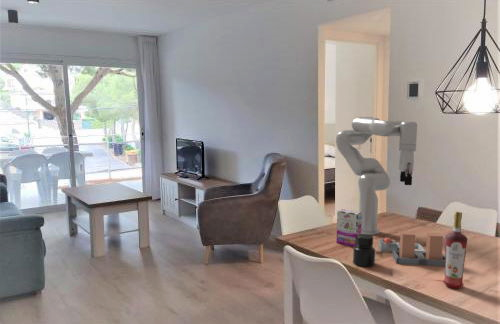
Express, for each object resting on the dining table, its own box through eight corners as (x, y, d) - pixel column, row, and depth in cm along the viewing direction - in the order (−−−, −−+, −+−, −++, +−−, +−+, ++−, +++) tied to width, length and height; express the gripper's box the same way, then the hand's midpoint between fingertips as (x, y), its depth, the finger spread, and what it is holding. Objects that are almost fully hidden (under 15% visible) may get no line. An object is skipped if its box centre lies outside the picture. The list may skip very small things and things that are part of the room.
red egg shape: (384, 248, 196) (385, 239, 195) (383, 246, 199) (384, 237, 198) (391, 249, 195) (391, 239, 195) (390, 247, 198) (390, 237, 198)
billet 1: (401, 261, 181) (402, 234, 179) (399, 257, 186) (400, 231, 184) (413, 262, 180) (415, 234, 178) (411, 258, 185) (412, 231, 183)
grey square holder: (380, 252, 194) (381, 243, 194) (378, 248, 201) (378, 238, 201) (396, 253, 193) (397, 244, 193) (393, 248, 200) (394, 239, 200)
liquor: (442, 288, 155) (447, 213, 152) (441, 281, 162) (446, 209, 159) (465, 291, 153) (470, 215, 149) (462, 284, 160) (468, 211, 156)
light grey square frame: (399, 255, 191) (400, 249, 191) (395, 247, 202) (395, 242, 202) (425, 256, 190) (425, 251, 189) (419, 248, 200) (419, 243, 200)
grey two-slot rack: (396, 265, 178) (397, 258, 178) (392, 257, 188) (392, 250, 188) (449, 268, 175) (449, 260, 175) (441, 260, 185) (442, 253, 185)
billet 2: (428, 263, 179) (430, 235, 177) (425, 259, 184) (427, 232, 182) (441, 264, 178) (442, 236, 177) (437, 259, 183) (439, 233, 182)
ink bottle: (379, 265, 179) (381, 237, 177) (365, 269, 174) (366, 240, 172) (362, 258, 187) (363, 231, 185) (347, 262, 182) (348, 235, 180)
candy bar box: (361, 245, 204) (363, 212, 202) (356, 248, 201) (357, 214, 199) (341, 240, 212) (342, 208, 210) (335, 243, 208) (337, 210, 206)
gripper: (395, 146, 210) (394, 180, 212) (403, 149, 193) (401, 186, 195) (411, 146, 209) (409, 180, 211) (420, 149, 192) (418, 186, 194)
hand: (405, 183), depth 203 cm, fingers open, 9 cm apart
